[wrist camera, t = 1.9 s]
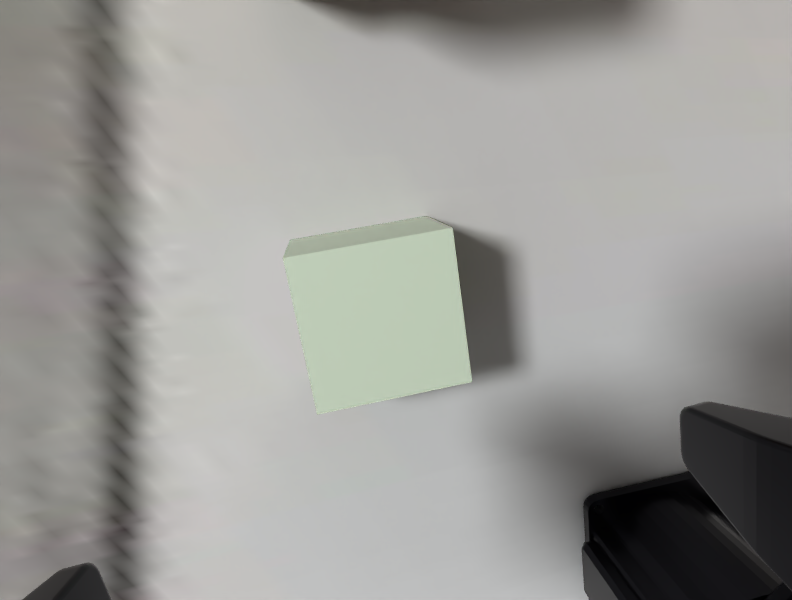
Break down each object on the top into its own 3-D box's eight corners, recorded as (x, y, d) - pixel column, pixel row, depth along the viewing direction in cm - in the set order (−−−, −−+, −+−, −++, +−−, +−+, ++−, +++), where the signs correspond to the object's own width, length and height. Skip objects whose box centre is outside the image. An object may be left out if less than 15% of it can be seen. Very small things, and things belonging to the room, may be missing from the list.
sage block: (425, 215, 19) (452, 227, 15) (443, 341, 20) (472, 382, 16) (290, 239, 18) (282, 258, 15) (317, 366, 20) (317, 414, 16)
